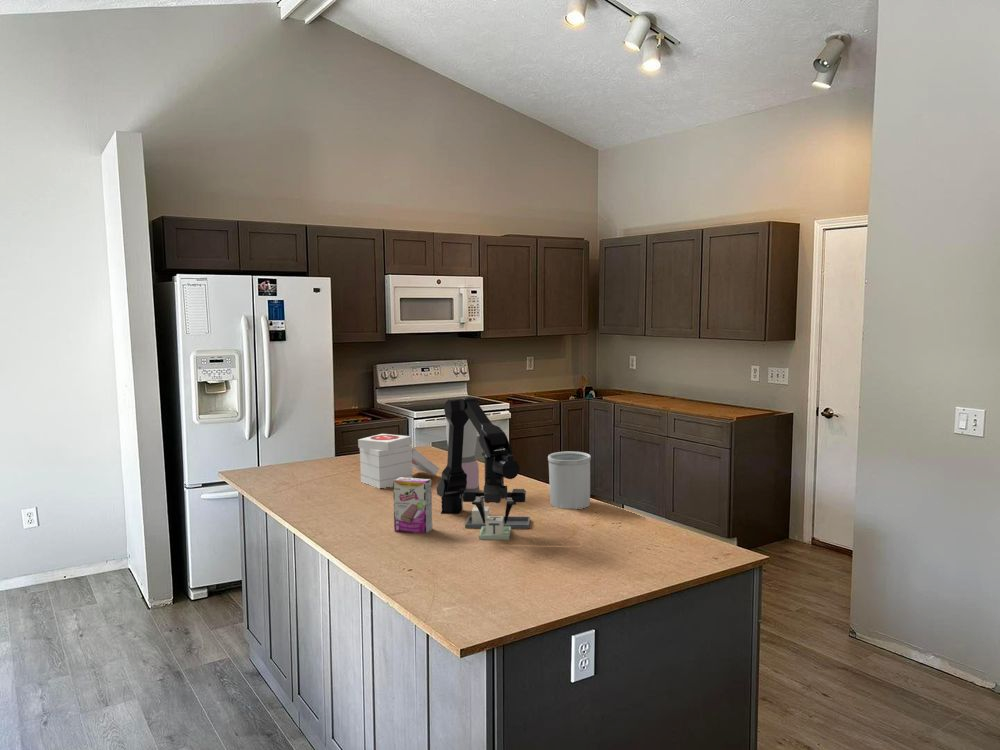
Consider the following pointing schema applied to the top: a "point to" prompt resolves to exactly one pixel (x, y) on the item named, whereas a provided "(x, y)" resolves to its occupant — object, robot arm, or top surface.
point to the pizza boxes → (390, 459)
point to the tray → (494, 537)
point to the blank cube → (477, 517)
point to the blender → (469, 454)
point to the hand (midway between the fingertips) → (494, 523)
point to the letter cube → (495, 525)
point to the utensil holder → (569, 479)
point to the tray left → (470, 525)
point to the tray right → (517, 522)
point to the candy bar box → (412, 505)
